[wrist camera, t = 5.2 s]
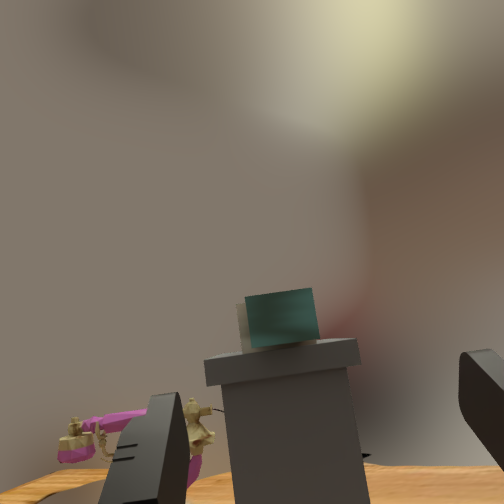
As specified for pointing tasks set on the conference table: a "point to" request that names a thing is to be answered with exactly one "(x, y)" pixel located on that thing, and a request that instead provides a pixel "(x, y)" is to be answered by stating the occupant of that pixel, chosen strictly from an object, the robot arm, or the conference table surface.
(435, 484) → the conference table surface
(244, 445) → the pedestal
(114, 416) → the telephone
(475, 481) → the conference table surface
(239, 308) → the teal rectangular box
